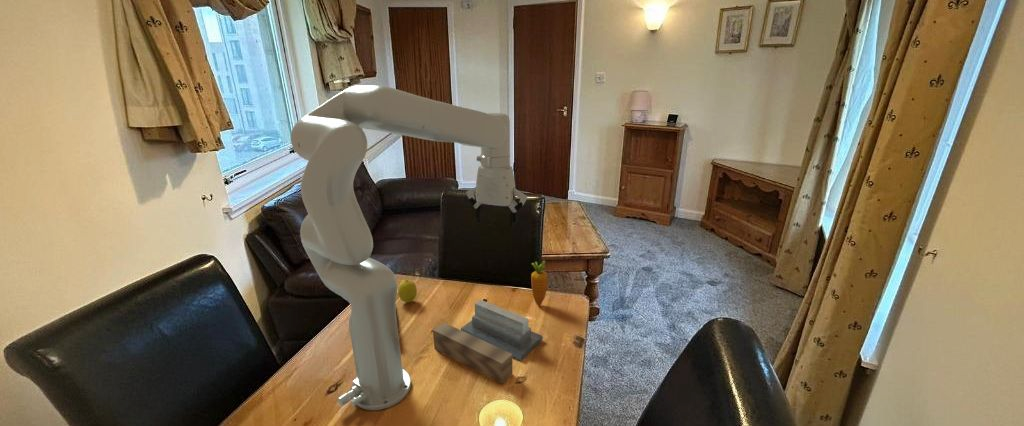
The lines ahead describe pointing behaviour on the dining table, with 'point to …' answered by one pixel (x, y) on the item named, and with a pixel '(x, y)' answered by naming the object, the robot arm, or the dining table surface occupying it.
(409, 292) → the lemon
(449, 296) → the dining table surface
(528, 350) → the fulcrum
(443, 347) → the walnut beam
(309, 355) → the dining table surface
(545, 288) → the carrot
